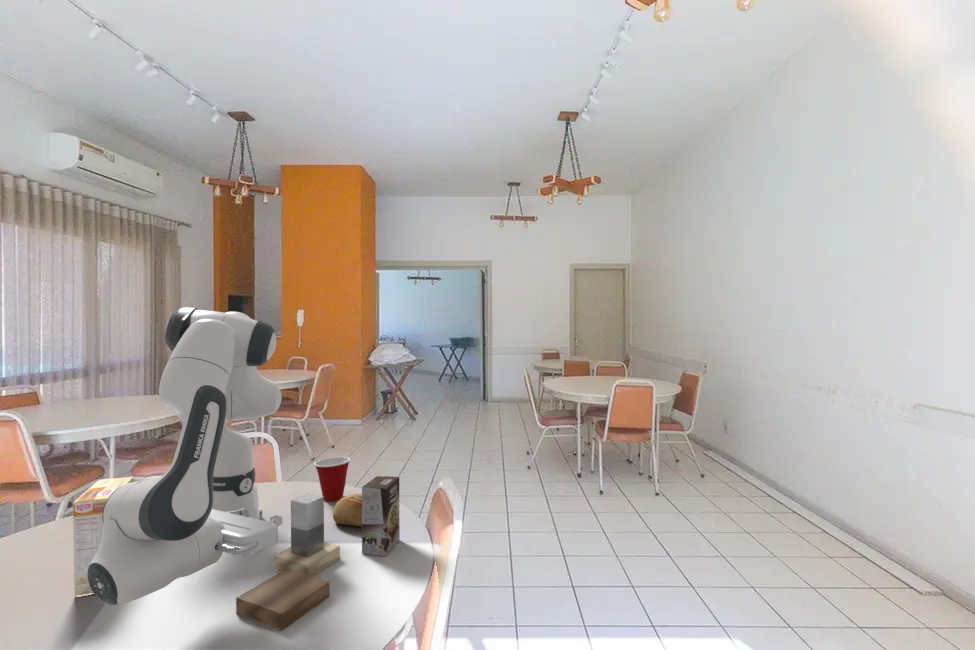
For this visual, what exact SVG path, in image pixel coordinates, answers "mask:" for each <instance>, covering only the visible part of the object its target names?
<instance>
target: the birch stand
mask: <svg viewBox="0 0 975 650" xmlns="http://www.w3.org/2000/svg"><path fill="white" fill-rule="evenodd" d="M340 559H341V545H338V544H334V543H330V542H326V541H324V549H322V550H320V551H318V552H317V553H315V554H313V555H312V556H310V557H308V558H307V557H303V556H300V555H296V554H292V553H291V546H289V547H288V548H286V549H284V550H282V551H280V552H278V553H277V554H275V555H273V561H274V562H273V568H274V570H276V571H280V572H282V571H283V570H285V569H289V570H292V571H296V572H299V573H303V574H306V575H309V576H313V577H314V576H315V575H317V574H318V573H320V572H321V571H324V569H326V568H327V567H330V565H332V564H334V563H335V562H337V561H338V560H340Z"/></svg>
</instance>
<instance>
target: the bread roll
mask: <svg viewBox="0 0 975 650" xmlns="http://www.w3.org/2000/svg"><path fill="white" fill-rule="evenodd" d="M332 519H333V521H334V522H335V523H336V524H341V525H346V526H347V525H348V526H356V527H360V528H362V493H353V494H349V495H347V496H343V497H342V498H341V499H340V500H338V501H336V504H335V506H334V508H333V510H332Z"/></svg>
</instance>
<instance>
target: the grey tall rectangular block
mask: <svg viewBox="0 0 975 650" xmlns="http://www.w3.org/2000/svg"><path fill="white" fill-rule="evenodd" d="M324 502H325V500H324V496H323V495H318V494H313V493H305V494H302V495H301V496H298V497H295V498H293V499H291V500H290V547H291V553H292V554H296V555H300V556H303V557H307V558H308V557H310V556H312V555H313V554H315V553H317V552H318V551H320V550H322V549H324V542H325V504H324Z"/></svg>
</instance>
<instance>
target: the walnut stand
mask: <svg viewBox="0 0 975 650" xmlns="http://www.w3.org/2000/svg"><path fill="white" fill-rule="evenodd" d="M330 597H331V581H329V580H326V579H323V578H318V577H315V576H314V575H313V576H309V575H306V574H303V573H299V572H296V571H292V570H289V569H285V570H283V571H280V572H278V573H276V574H275V575H273V576H271V577H269V578H268V579H266V580H265V581H262V582H260V583H259V584H257V585H256V586H253V587H252V588H250V589H249V590H247V591H245V592H244V593H241V594H240V595H239V596H237V597H235V603H236V606H235V609H236V610H235V611H236V613H235V614H237V615H239V616H243V617H244V618H249V619H251V620H253V621H256V622H259V623H262V624H264V625H265V626H266V625H267V626H269V627H272V628H275V629H278V630H280V631H283V630H285V629H286V628H288V627H289V626H290V625H292V624H293V623H295V622H296V621H297V620H299V619H300V618H302V617H304V616H305V615H306V614H307V613H309V612H310V611H312V610H313V609H314V608H316V607H317V606H319V605H320V604H322V603H323V602H324V601H326V600H327V599H328V598H330Z"/></svg>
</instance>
